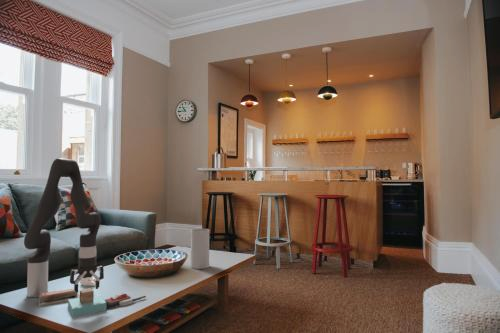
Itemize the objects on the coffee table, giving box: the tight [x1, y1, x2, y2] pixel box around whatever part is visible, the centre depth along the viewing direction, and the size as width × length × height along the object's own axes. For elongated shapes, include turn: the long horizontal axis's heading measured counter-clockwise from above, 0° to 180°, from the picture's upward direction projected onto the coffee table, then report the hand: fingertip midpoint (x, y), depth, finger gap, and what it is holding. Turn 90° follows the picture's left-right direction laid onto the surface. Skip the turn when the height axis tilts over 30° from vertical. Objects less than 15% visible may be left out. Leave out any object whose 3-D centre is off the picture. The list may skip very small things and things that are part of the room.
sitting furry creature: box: [79, 276, 96, 287], centre depth 199 cm, size 10×9×12 cm
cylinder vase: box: [190, 228, 210, 270], centre depth 239 cm, size 12×12×25 cm
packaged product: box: [37, 288, 80, 307], centre depth 175 cm, size 18×5×10 cm
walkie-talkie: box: [104, 292, 147, 309], centre depth 172 cm, size 9×4×20 cm
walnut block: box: [79, 287, 95, 304], centre depth 164 cm, size 5×5×5 cm
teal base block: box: [67, 294, 107, 318], centre depth 164 cm, size 14×14×4 cm
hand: (86, 290), depth 164 cm, fingers open, 8 cm apart
